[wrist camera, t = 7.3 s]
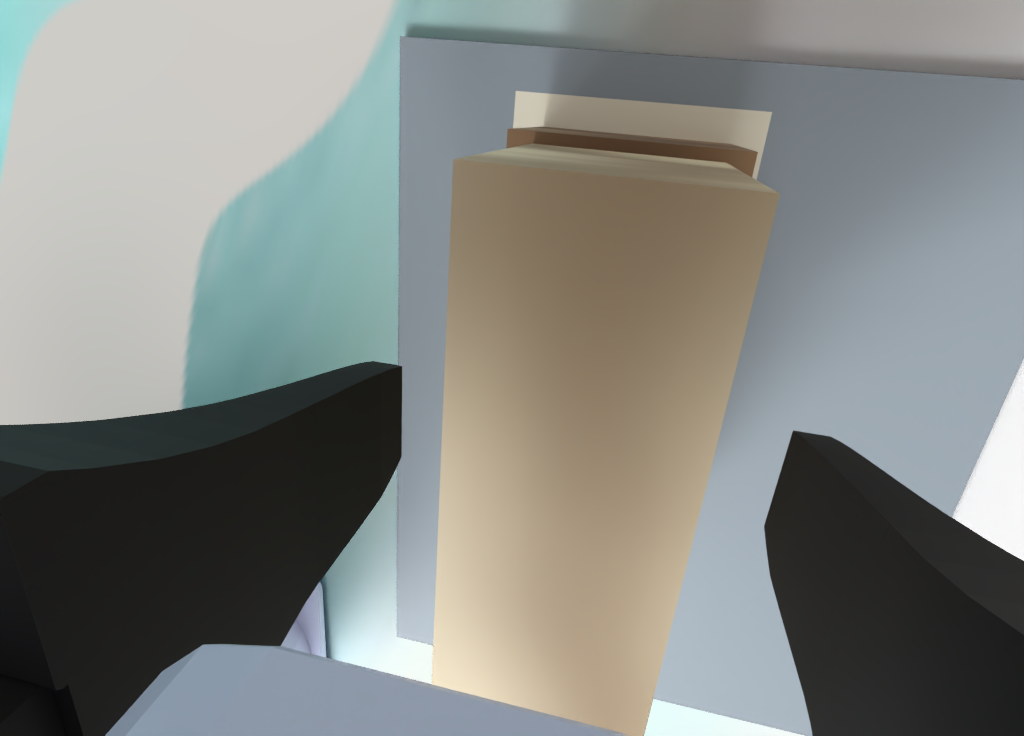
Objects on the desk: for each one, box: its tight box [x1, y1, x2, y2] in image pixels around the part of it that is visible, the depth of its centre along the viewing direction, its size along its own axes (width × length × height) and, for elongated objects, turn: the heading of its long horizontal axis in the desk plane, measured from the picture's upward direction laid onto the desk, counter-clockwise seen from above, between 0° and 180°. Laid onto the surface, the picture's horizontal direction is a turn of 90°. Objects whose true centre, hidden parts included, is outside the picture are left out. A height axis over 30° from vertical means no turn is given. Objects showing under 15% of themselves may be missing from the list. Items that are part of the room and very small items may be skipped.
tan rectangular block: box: [432, 143, 780, 736], centre depth 11 cm, size 4×10×5 cm, turn 175°
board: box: [397, 36, 1024, 736], centre depth 18 cm, size 16×20×1 cm
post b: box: [506, 127, 758, 177], centre depth 14 cm, size 4×4×4 cm
